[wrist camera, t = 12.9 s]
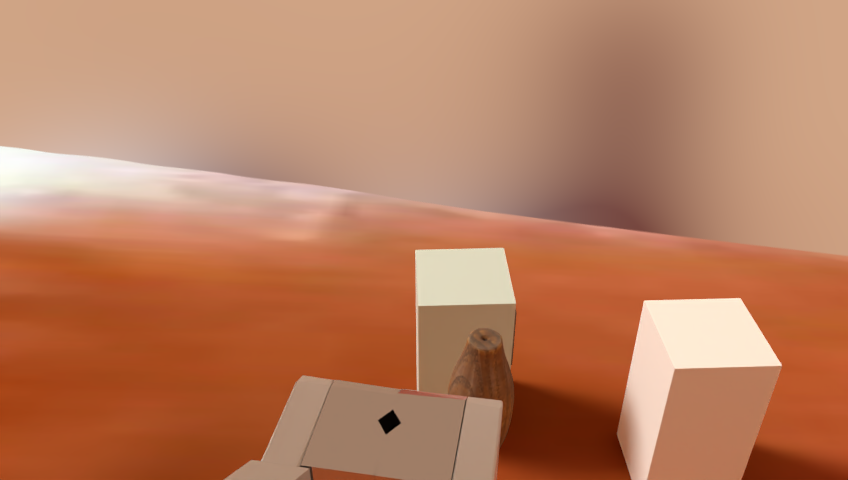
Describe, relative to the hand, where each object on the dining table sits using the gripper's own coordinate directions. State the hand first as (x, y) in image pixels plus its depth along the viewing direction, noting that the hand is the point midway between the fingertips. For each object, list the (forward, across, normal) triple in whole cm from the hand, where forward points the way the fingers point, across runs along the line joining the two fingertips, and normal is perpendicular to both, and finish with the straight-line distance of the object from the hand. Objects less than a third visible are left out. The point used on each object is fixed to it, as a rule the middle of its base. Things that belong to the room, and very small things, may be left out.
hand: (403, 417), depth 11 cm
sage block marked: (+25, +2, +26) cm, 36 cm away
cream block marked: (+22, -10, +26) cm, 36 cm away
